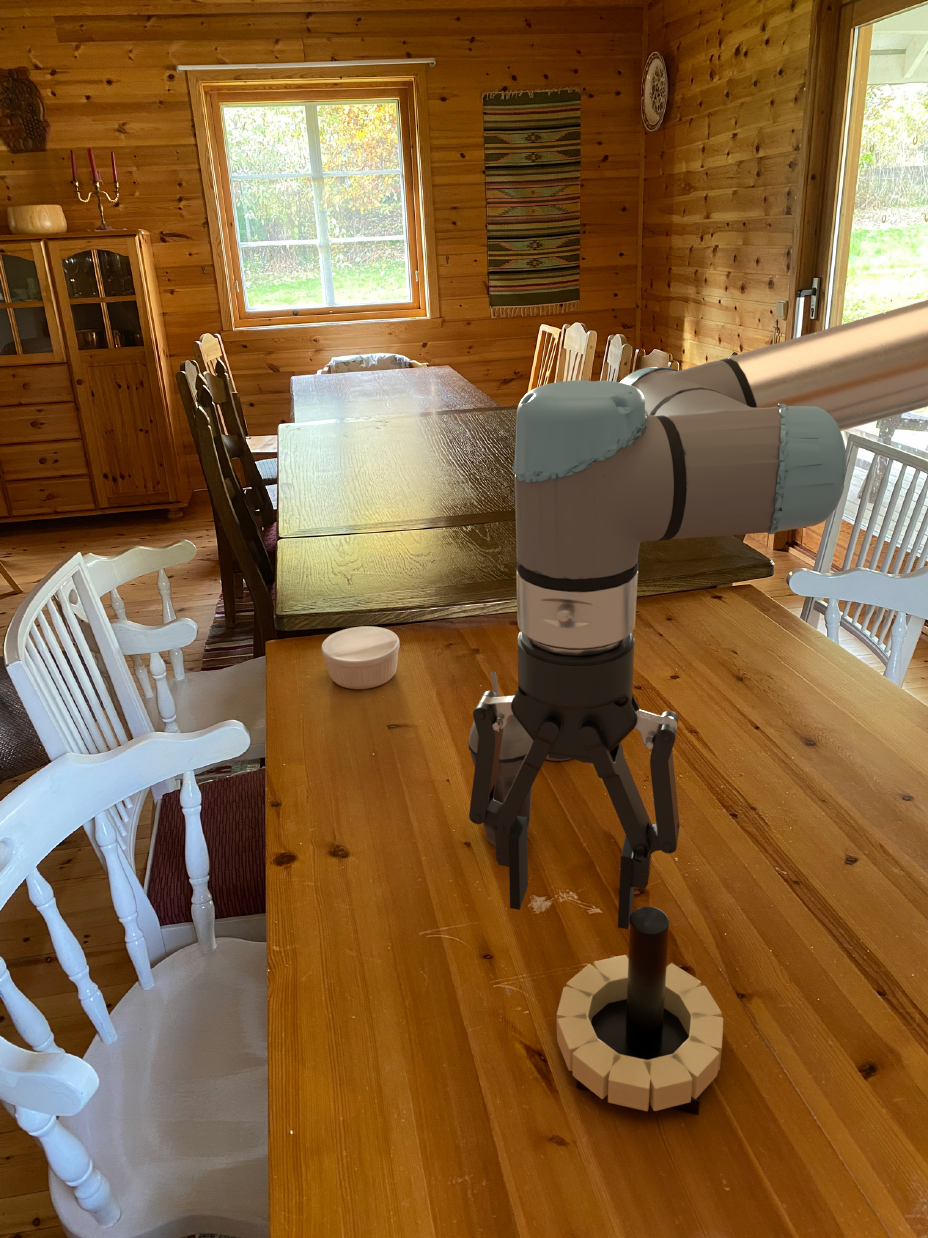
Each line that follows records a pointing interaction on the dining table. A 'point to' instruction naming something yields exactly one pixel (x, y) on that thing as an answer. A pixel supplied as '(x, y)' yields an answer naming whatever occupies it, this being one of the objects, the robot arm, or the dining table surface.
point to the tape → (631, 1076)
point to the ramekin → (361, 656)
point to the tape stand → (644, 1000)
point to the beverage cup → (506, 762)
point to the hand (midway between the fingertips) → (571, 906)
